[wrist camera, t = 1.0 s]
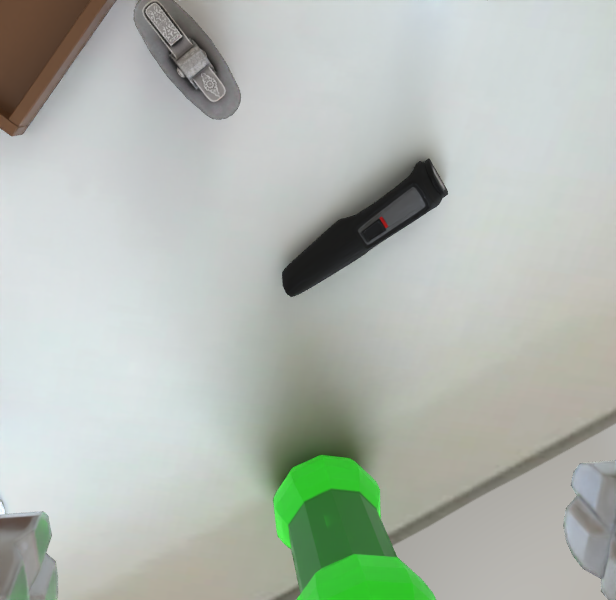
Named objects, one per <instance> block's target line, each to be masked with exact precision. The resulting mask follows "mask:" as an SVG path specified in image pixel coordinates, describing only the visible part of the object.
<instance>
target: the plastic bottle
mask: <svg viewBox="0 0 616 600" xmlns="http://www.w3.org/2000/svg"><path fill="white" fill-rule="evenodd" d="M273 503H274V512H275V521H276V529H277V534H278V537H279V538H280V539H281V541H282V542H283V543H284V544H285V545H286V546H288V547H289V548H290V549H291V550H292V555H293V560H294V565H295V570H296V575H297V580H298V584H299V589H300V595H299V597H298V598H297V600H436V599H435V596H434V594H433V593H432V591H431V590H430V589H429V588H428V586H427V585H426V584H425V583H424V581H423V580H422V579H421V578H420V577H419V576H417V575H416V574H415V573H414V572H413V571H412V570H411V569H410V568H409V567H408V566H407V565H405V564H404V563H403V562H402V561H401V560H400V559H399V558H398V557H397V556H396V553H395V551H394V549H393V546H392V544H391V542H390V540H389V537H388V535H387V533H386V530H385V528H384V526H383V523H382V521H381V513H380V489H379V487H378V485H377V483H376V481H375V480H374V479H373V478H372V477H371V476H370V475H369V474H368V473H367V472H366V471H365V470H364V469H363V468H362V467H361V466H360V465H359V464H357V463H356V462H355V461H354V460H352V459H350V458H345V457H336V456H327V455H319V456H317V457H315V458H312V459H310V460H308V461H306V462H304V463H301V464H299V465H297V466H295V467H293V468H292V469H291V470H290V472H289V473H288V475H287V476H286V478H285V479H284V481H283V482H282V484H281V485H280V487H279V488H278V490H277V491H276V494H275V496H274V498H273Z"/></svg>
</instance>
